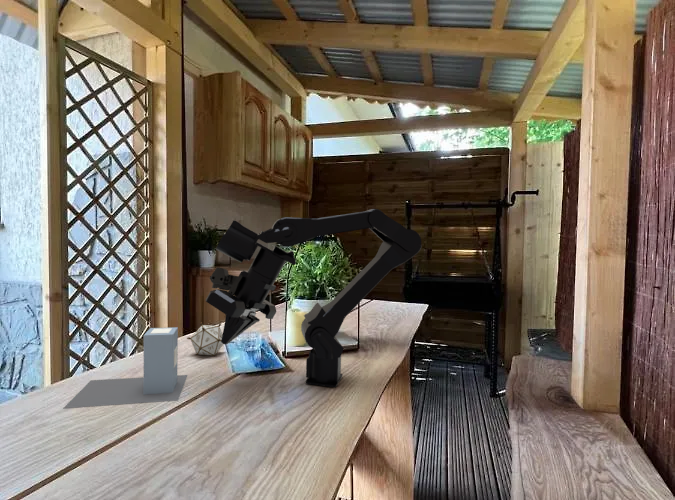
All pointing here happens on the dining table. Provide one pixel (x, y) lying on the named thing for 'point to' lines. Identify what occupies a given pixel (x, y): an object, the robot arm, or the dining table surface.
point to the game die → (207, 340)
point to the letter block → (160, 360)
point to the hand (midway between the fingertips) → (223, 343)
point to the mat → (121, 393)
